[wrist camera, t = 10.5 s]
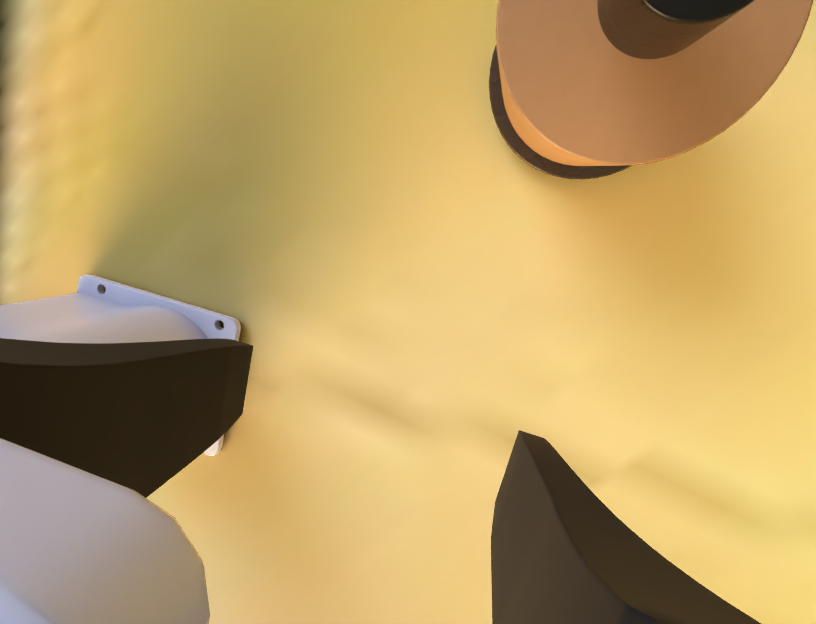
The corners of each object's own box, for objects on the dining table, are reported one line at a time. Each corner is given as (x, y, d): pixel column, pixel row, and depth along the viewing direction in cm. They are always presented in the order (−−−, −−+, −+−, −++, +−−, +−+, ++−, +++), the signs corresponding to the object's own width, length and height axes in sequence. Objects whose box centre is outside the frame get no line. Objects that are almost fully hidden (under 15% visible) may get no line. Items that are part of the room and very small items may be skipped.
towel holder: (521, -53, 17) (539, -470, 6) (734, -19, 16) (1243, -446, 5) (469, 156, 19) (414, 142, 8) (648, 197, 18) (851, 242, 7)
